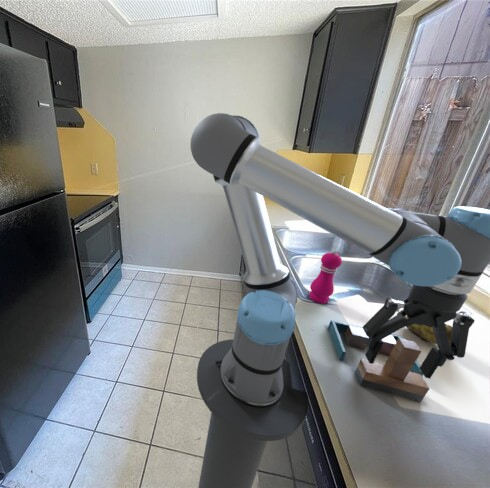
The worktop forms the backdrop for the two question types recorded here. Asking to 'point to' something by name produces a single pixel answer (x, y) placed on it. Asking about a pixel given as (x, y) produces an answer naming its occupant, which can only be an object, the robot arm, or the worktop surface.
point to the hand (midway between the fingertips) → (395, 366)
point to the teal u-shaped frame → (339, 346)
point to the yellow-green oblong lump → (428, 332)
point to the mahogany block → (387, 345)
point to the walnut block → (356, 337)
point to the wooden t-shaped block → (395, 372)
